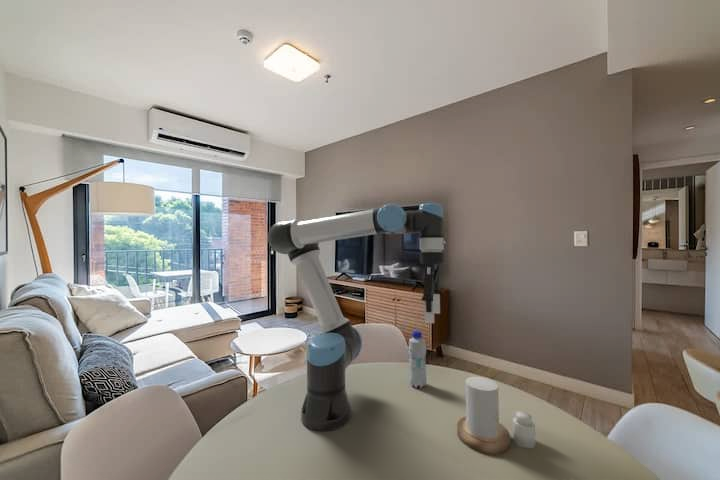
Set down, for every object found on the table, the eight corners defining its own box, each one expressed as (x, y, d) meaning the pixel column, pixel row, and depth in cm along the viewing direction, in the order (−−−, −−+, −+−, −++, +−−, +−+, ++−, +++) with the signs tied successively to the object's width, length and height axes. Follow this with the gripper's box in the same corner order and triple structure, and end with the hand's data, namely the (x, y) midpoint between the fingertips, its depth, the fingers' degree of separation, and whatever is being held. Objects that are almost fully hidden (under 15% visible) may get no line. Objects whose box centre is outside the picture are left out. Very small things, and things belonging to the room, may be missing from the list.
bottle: (405, 382, 109) (405, 329, 109) (421, 380, 111) (420, 328, 111) (414, 390, 102) (413, 334, 103) (430, 388, 104) (429, 332, 105)
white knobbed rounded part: (514, 445, 73) (513, 417, 74) (512, 434, 78) (511, 407, 78) (537, 450, 71) (536, 422, 72) (533, 438, 76) (532, 411, 76)
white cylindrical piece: (503, 440, 72) (502, 392, 72) (469, 436, 74) (468, 389, 74) (494, 421, 80) (493, 377, 80) (464, 418, 82) (463, 375, 82)
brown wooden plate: (455, 446, 73) (455, 437, 73) (458, 418, 85) (458, 410, 85) (512, 460, 68) (512, 450, 68) (507, 428, 80) (507, 420, 80)
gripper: (438, 251, 79) (440, 328, 78) (447, 251, 102) (448, 310, 101) (411, 251, 82) (412, 326, 81) (426, 251, 105) (427, 309, 104)
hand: (432, 317), depth 91 cm, fingers open, 13 cm apart
